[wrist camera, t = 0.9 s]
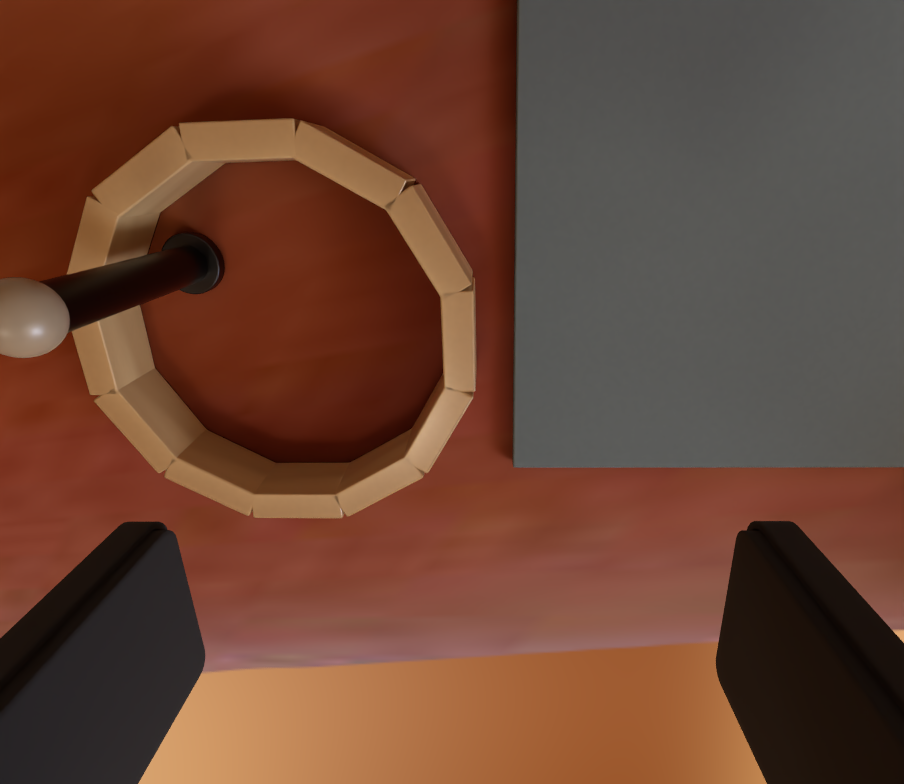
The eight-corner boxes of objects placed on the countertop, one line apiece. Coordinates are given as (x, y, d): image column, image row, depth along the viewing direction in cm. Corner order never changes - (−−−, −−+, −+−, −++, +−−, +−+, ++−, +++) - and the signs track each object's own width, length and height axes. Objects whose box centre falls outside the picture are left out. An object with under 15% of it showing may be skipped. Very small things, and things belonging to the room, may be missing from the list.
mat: (516, -29, 20) (518, -35, 20) (1112, -63, 19) (1132, -70, 18) (512, 461, 27) (513, 467, 27) (941, 461, 26) (950, 467, 26)
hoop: (68, 134, 23) (11, 129, 20) (472, 117, 22) (470, 110, 19) (159, 484, 29) (125, 517, 26) (478, 484, 28) (477, 519, 25)
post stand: (160, 232, 24) (-79, 278, 14) (219, 231, 24) (20, 276, 14) (173, 292, 25) (-42, 376, 15) (229, 291, 25) (51, 375, 15)
